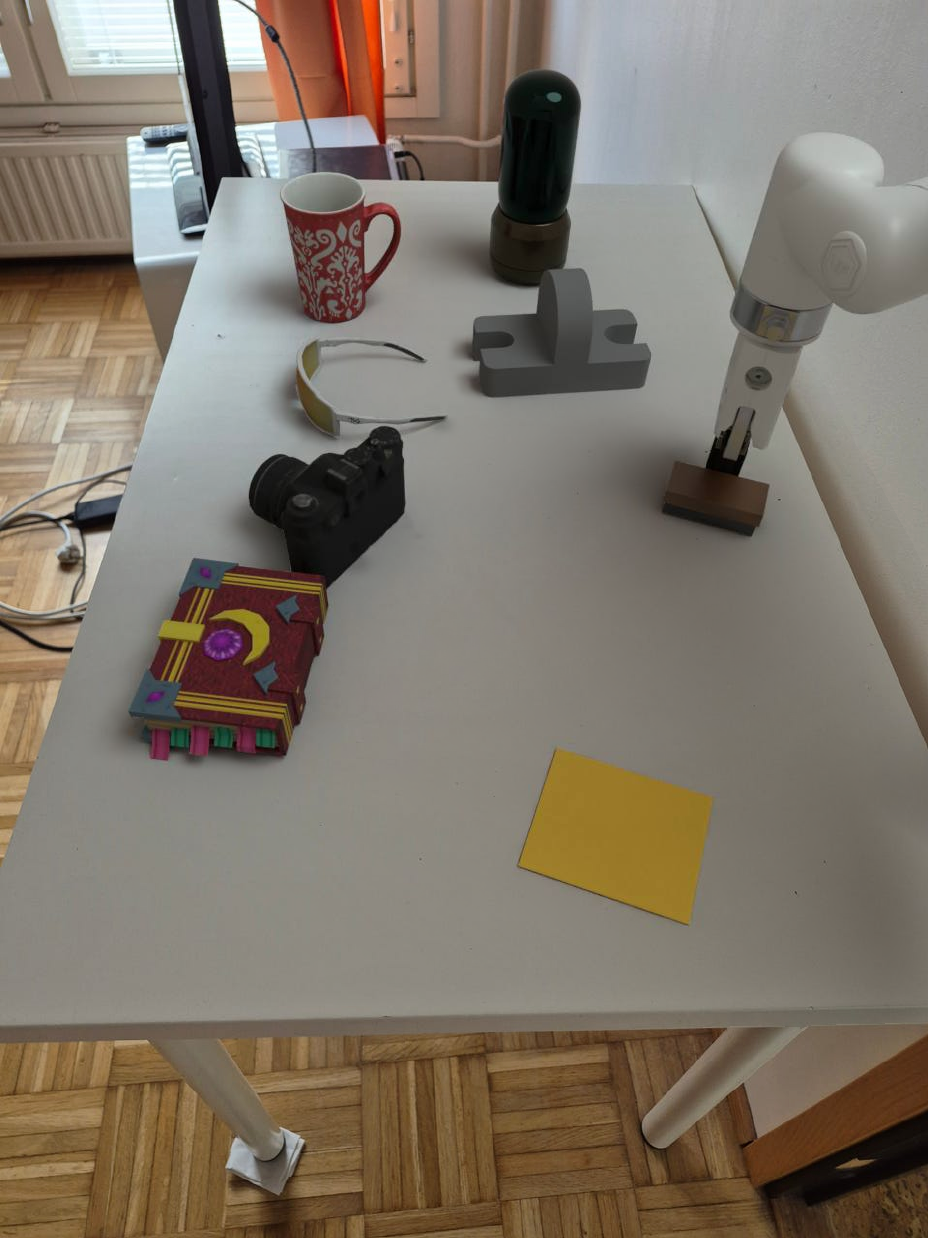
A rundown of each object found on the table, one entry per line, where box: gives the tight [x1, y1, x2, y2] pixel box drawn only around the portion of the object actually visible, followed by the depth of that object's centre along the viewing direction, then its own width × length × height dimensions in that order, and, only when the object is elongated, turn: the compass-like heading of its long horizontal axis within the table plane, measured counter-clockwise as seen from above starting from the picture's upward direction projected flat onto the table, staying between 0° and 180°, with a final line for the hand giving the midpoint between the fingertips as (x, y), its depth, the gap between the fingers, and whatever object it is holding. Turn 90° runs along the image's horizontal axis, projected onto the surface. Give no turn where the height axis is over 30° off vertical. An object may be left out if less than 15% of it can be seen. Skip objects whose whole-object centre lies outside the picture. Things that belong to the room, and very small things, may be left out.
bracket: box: [471, 267, 652, 398], centre depth 94 cm, size 10×18×11 cm, turn 98°
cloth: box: [517, 747, 714, 926], centre depth 63 cm, size 12×10×1 cm
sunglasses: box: [295, 336, 450, 437], centre depth 92 cm, size 14×15×5 cm
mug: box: [279, 171, 402, 324], centre depth 99 cm, size 13×9×14 cm
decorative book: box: [127, 557, 329, 761], centre depth 69 cm, size 11×16×5 cm
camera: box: [248, 425, 407, 590], centre depth 77 cm, size 14×11×10 cm
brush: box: [661, 459, 771, 537], centre depth 83 cm, size 9×4×3 cm, turn 70°
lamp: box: [488, 68, 582, 285], centre depth 102 cm, size 10×10×22 cm
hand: (720, 473), depth 86 cm, fingers closed
